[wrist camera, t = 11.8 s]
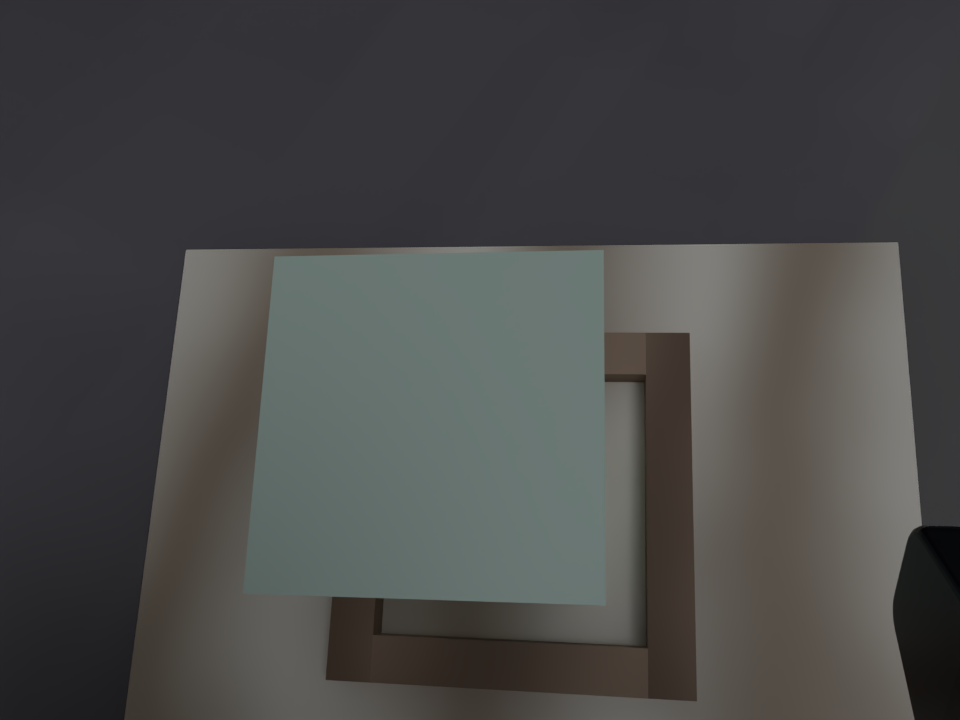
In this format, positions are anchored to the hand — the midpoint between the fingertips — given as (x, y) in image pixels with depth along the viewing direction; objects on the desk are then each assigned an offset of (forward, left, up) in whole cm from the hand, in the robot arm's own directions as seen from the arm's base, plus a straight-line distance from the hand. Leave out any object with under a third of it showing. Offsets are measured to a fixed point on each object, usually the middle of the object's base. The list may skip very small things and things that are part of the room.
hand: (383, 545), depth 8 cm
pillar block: (+1, -1, -13) cm, 13 cm away
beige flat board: (+1, -1, -14) cm, 14 cm away
